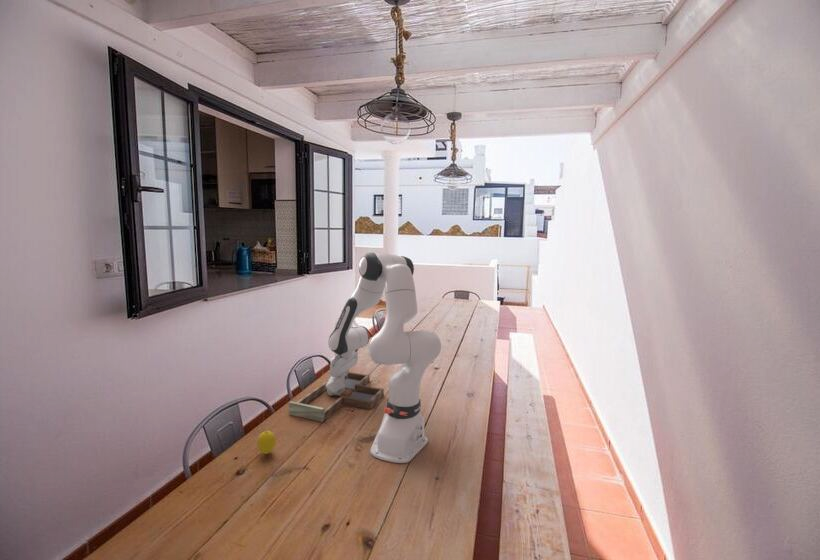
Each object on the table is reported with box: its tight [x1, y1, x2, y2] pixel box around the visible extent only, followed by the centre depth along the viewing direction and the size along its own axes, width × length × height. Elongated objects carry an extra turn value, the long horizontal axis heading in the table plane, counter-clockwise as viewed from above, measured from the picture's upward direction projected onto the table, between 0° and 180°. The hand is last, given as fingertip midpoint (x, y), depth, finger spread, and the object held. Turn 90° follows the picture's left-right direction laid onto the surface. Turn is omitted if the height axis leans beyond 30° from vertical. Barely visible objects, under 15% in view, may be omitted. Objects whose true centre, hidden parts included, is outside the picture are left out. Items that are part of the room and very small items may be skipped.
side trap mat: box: [348, 390, 374, 401], centre depth 166 cm, size 11×12×1 cm
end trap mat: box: [344, 378, 360, 391], centre depth 181 cm, size 10×12×1 cm
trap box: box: [288, 371, 385, 423], centre depth 166 cm, size 42×28×5 cm, turn 161°
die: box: [326, 376, 346, 397], centre depth 169 cm, size 8×9×10 cm
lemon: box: [256, 430, 277, 455], centre depth 124 cm, size 6×6×8 cm
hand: (344, 379), depth 176 cm, fingers closed
